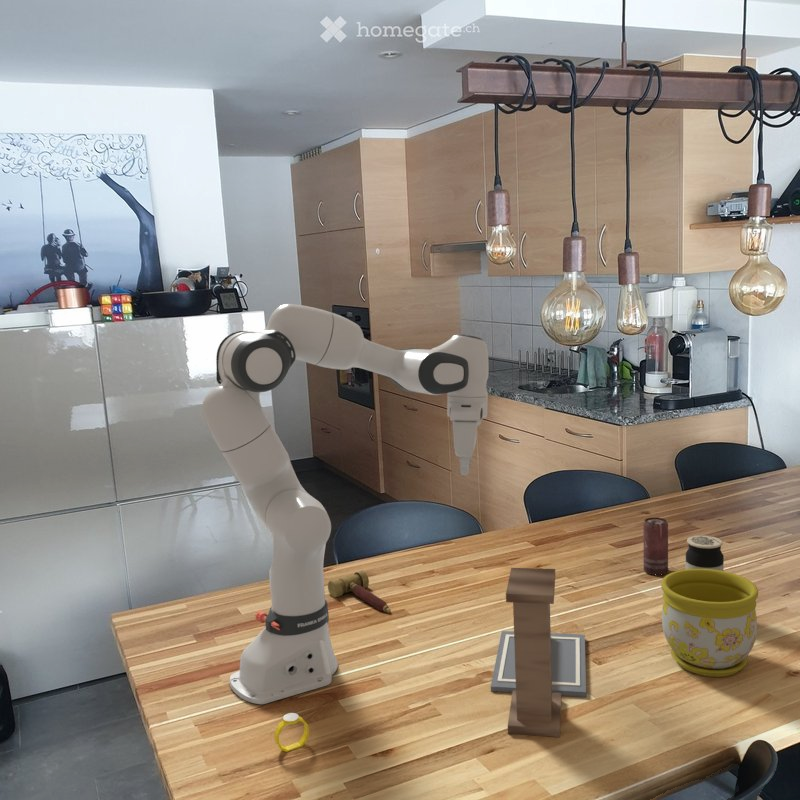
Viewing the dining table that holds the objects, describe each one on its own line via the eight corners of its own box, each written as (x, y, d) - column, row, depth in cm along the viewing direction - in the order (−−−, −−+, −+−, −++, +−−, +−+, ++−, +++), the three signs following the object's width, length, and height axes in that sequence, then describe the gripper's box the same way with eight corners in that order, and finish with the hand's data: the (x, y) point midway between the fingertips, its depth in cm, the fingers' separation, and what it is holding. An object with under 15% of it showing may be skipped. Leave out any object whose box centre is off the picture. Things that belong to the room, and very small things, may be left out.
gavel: (406, 596, 194) (372, 608, 189) (406, 613, 195) (372, 626, 190) (359, 567, 211) (327, 578, 205) (360, 583, 212) (327, 594, 206)
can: (652, 577, 205) (652, 525, 202) (639, 569, 211) (638, 518, 208) (673, 574, 206) (673, 522, 204) (659, 566, 212) (659, 515, 210)
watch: (305, 740, 142) (304, 708, 142) (311, 747, 140) (310, 715, 139) (273, 749, 139) (272, 717, 139) (278, 757, 137) (278, 724, 136)
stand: (513, 697, 152) (508, 567, 148) (561, 700, 150) (558, 569, 146) (507, 733, 140) (502, 593, 136) (559, 737, 138) (556, 595, 134)
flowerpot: (689, 633, 174) (689, 561, 171) (773, 660, 160) (774, 583, 158) (644, 663, 162) (643, 586, 159) (729, 695, 149) (731, 612, 146)
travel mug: (692, 624, 178) (692, 547, 175) (680, 609, 185) (681, 535, 182) (728, 623, 177) (729, 546, 174) (715, 608, 185) (716, 534, 182)
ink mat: (501, 635, 178) (501, 630, 177) (584, 638, 174) (584, 633, 173) (490, 691, 154) (490, 685, 154) (586, 697, 151) (586, 691, 150)
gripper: (456, 404, 186) (454, 462, 187) (449, 413, 165) (447, 478, 167) (483, 405, 185) (481, 463, 186) (480, 414, 165) (478, 480, 166)
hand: (465, 471), depth 176 cm, fingers open, 8 cm apart
